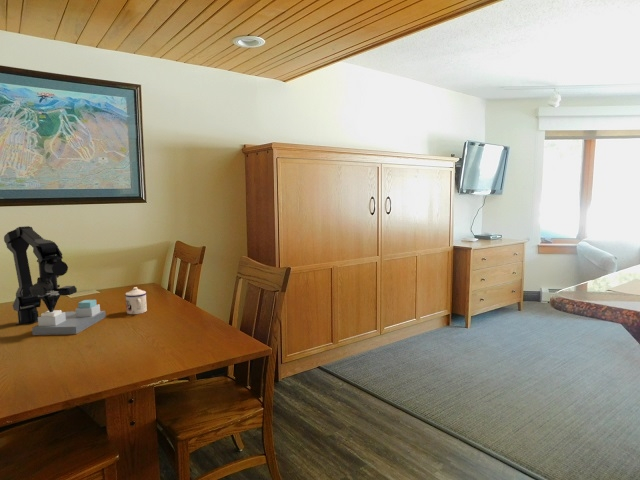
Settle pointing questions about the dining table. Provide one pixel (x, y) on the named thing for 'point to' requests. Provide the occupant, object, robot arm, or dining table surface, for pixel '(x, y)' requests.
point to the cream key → (51, 313)
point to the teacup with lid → (136, 301)
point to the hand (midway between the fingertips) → (51, 311)
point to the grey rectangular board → (69, 321)
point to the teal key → (87, 304)
